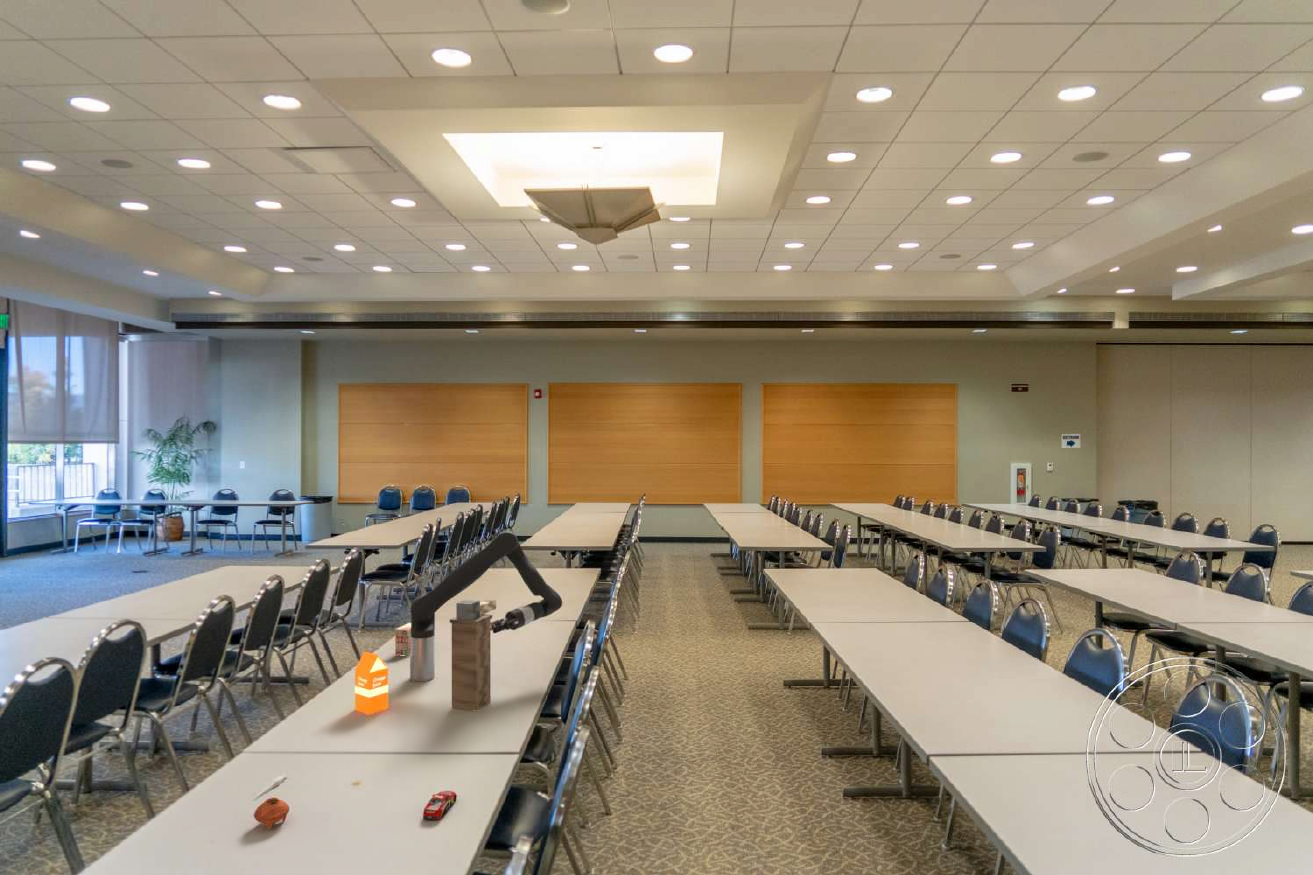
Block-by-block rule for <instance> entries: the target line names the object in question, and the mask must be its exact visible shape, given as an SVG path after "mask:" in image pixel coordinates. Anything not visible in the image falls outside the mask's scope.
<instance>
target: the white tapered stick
mask: <svg viewBox="0 0 1313 875" xmlns="http://www.w3.org/2000/svg"><path fill="white" fill-rule="evenodd" d="M288 774H289V772H288V771H285V772H284V773H281V774H280V775H278V776H277V777H273V778H272V779H271V780H270V782H269V783H268V784H267V785H266V786H265V787H264V788H263V789H261V791H260V792H259V793H258V794H257V795H256V796H255V797H254V798H253V801H255V800H257V799H258V798H261V797H262V796H264V795H265V794H266V793H268V792H270V791H272V790H273V789H274V788H275V787H278V786H280V785H281V784H282V783H283V782H284V781H285V779H287V775H288Z"/></svg>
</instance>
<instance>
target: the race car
mask: <svg viewBox="0 0 1313 875" xmlns="http://www.w3.org/2000/svg"><path fill="white" fill-rule="evenodd" d="M431 796H432V797H431V798H430V800H428V802H427V804H426V806H424V808H423V813H422V818H423V819H424V820H434V821H435V820H440V819H442V818H444V817H445V816H446V814H447V813H448V811H449V810H450V809H451V807H452V806H453V805H454V804H455V802H456V801H457V797H458V795H457V794H456V792H454V791H453V790H443V791H440V792H438V793H435V794H432V795H431Z"/></svg>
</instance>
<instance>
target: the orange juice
mask: <svg viewBox="0 0 1313 875" xmlns="http://www.w3.org/2000/svg"><path fill="white" fill-rule="evenodd" d="M387 708H388V709H389V667H387V665H386V663H384V661H383V660H382V658H381V657H380V655H379V654H375V653H372V652H367V651H363V653H362V655H361V657H360V659H359V661H358V663H357V664H356V666H355V669H354V710H355V711H358V712H361V713H365V714H367V715H373V714H375V712H376V713H378V711H379V712H382V711H385V710H387ZM381 710H382V711H381Z"/></svg>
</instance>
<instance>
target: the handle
mask: <svg viewBox="0 0 1313 875" xmlns="http://www.w3.org/2000/svg"><path fill="white" fill-rule="evenodd" d="M494 610H497V599H490V598H488V599H485V600H482V601H481V600H473V599H464V600H461V601H458V602H456V615H455V617H456V620H467V621H472V620H474V619H477V618H479V617H480V615H483V614H487V613H490V612H492V611H494Z"/></svg>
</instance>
